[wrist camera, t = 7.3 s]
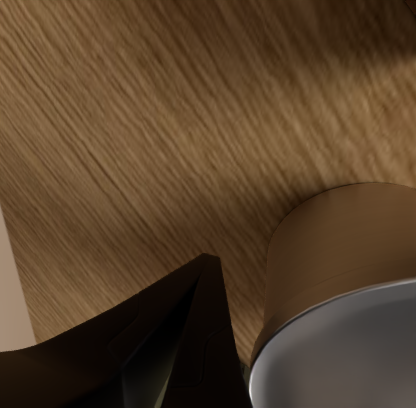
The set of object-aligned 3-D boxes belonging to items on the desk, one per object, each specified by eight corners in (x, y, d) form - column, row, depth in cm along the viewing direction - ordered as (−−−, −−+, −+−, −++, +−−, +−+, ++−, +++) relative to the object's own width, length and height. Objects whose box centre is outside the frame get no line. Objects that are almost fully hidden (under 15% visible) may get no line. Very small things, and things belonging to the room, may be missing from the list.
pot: (324, 354, 12) (365, 543, 7) (227, 242, 11) (183, 354, 6) (534, 300, 8) (1038, 645, 3) (410, 125, 7) (776, 135, 2)
